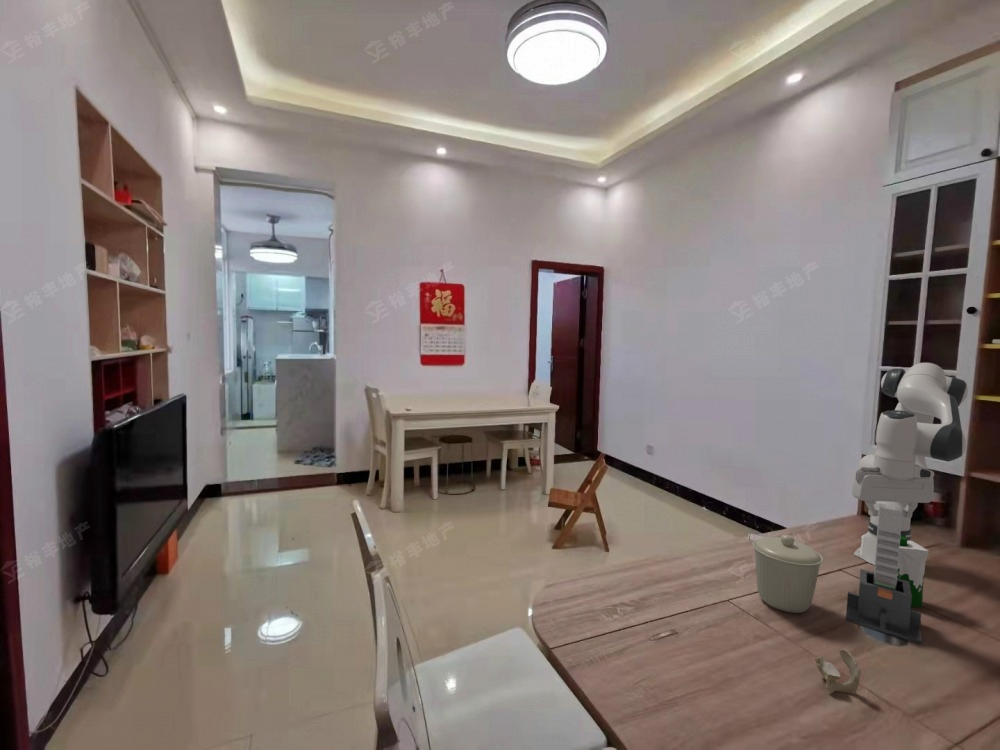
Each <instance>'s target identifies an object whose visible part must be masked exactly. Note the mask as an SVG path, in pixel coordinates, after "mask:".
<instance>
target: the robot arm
mask: <svg viewBox="0 0 1000 750" xmlns="http://www.w3.org/2000/svg"><path fill="white" fill-rule="evenodd" d="M967 385H968V384H967V382H966V381H965V380H963V379H960V378H957V377H955V376H952V377H951V376H948V375H946V373H945V370H944V369H943V368H942V367H941V366H939V365H938V364H935V363H933V362H918V363H916V364H913V365H912V366H911V367H910V368H909V369H904V368H891V369H889V370H887V372H886V373H885V374H884V375H883V376H882V378H881V381H880V387H881V392H882V393H883V395H886V396H888V397H890V398H897V400H898V403H897V404H896V407H895V409H894V410H893V409H892V410H885V411H883V412H881V413H880V416H879V419H878V422H877V426H876V427H875V430H874V443H875V444H876V449H875V452H874V453H873V454H872V453H870V454H866V455H865V456H863V457H862V458H861V459H860V461H859V464H858V470H856V471H855V476H854V477H855V478H854V479H853V480H854V481H853V485H852V490H851V495H852V496H853V497H854V498H855V499H858V501H863V502H864V503H865V505H866V507H867V508H868V513H867V514H868V515H869V516H870V517H869V519H870V520H868V523H867V532H866V533H864V534H863V535H861V536H860V541H861V543H860V547H858V548H857V549H856V550H855V551H854V552H853V555H854V557H855V556H856V557H858V558H860V559H862V560H863V561H866V562H867V563H868V564H872V565H873V566H875V555H876V542H877V529H878V517H879V504H886V505H891V506H897V507H902V523H901V535H900V536H904V537H906V538H907V541H911V540H912V539H911V537H912V530H911V518H912V517H913V512H914V511H915V510H916V509H917V508H918V505H919V503H920V504H923V503H924V504H929V503H931V502H932V500H933V499H934V490H935V488H934V487H935V485H934V477H935V472H934V471H933V470H931V469H928V467H927V463H926V458H929V459H935V460H939V461H943V462H951V461H955V460H957V459H959V458H961V457H963V455H964V453H965V451H966V449H967V448H966V447H967V443H966V442H967V441H966V436H965V434H964V433H963V428H962V423H961V418H960V417H961V416H960V409H959V406H960V405H962V404H963V403H964V402H965V401H966V399H967V397H968V392H969V389H968V386H967ZM934 418H937V419H939V420H940V423H934Z"/></svg>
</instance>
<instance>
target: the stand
mask: <svg viewBox="0 0 1000 750" xmlns="http://www.w3.org/2000/svg"><path fill="white" fill-rule="evenodd" d="M859 570H860V571H859V582H858V583H859V585H858V593H855V592H851V591H847V597H846V598H847V599H846V600H847V601H846V611H845V621H847V622H849V623H853V624H856V625H859V626H861V627H865V628H869V629H871V630H875V631H878V632H881V633H882V634H883V633H884V634H886V635H889V636H894V637H896V638H900V639H901V640H905V641H908V642H911V643H915V644H918V645H923V638H922V632H921V617H922V612H920V611H916V610H913V609H912V606H911V601H912V595H911V589H910V583H909V581H905V580H901V579H897V584H896V590H892V589H889V588H885V587H881V586H878V585H874V584H873V580H874V571H870V570H866V569H863V568H860V569H859Z"/></svg>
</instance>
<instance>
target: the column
mask: <svg viewBox="0 0 1000 750" xmlns="http://www.w3.org/2000/svg"><path fill="white" fill-rule="evenodd" d="M901 523H902V507H897V506H891V505H886V504H879V517H878V529H877V542H876V555H875V565H874V569H873V572H874V580H873V584H874V585H878V586H881V587H885V588H889V589H892V590H896V584H897V571H898V559H899V547H900V535H901Z"/></svg>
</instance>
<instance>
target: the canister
mask: <svg viewBox="0 0 1000 750" xmlns="http://www.w3.org/2000/svg"><path fill="white" fill-rule="evenodd" d="M751 545H752V548H753V549H754V558H755V559H754V561H755V563H754V564H755V576H756V577H755V578H756V588H757V592H758V595H759V597H760V599H761V600H762V601H763V602H764V603H766V605H768V606H770V607H773V608H774V609H777V610H779V611H782V612H786V613H793V614H800V613H805V612H806V611H808V609H810V607H811V605H812V603H813V599H814V594H815V590H816V585H817V582H818V581H817V580H818V576H819V572H820V568H821V564H823V563H824V557H823V556H822V555H821V553H820V552H818V551H816V550H815V549H814V548H812V547H811V546H809V545H807V544H805V543H802V542H800V541H797V540H795V538H794V537H793V536H791V535H789V534H782V535H781V536H780V537H779V536H778V537H777V536H763V537H760V538H757V539H755V540H752V543H751Z"/></svg>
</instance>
